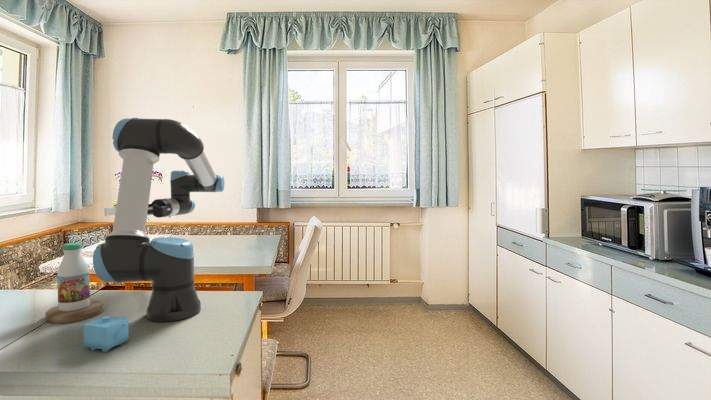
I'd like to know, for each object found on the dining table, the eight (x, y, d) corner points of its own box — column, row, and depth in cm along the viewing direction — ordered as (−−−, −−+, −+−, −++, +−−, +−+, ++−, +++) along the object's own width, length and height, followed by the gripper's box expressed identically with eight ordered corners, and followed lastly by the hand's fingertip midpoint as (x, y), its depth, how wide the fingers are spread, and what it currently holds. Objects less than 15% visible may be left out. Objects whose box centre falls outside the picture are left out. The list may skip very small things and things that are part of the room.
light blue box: (139, 344, 90) (138, 315, 90) (118, 355, 84) (117, 324, 84) (102, 339, 93) (101, 310, 93) (78, 349, 87) (77, 319, 87)
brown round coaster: (114, 309, 114) (114, 302, 114) (68, 326, 101) (67, 319, 101) (82, 304, 118) (81, 298, 118) (33, 320, 105) (33, 313, 105)
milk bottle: (56, 308, 109) (53, 243, 108) (87, 301, 115) (84, 240, 114) (61, 314, 104) (58, 247, 103) (93, 307, 110) (90, 243, 109)
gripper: (191, 217, 145) (151, 223, 124) (139, 216, 150) (92, 221, 129) (191, 199, 145) (151, 202, 124) (138, 198, 150) (92, 201, 129)
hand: (121, 212), depth 127 cm, fingers open, 13 cm apart
